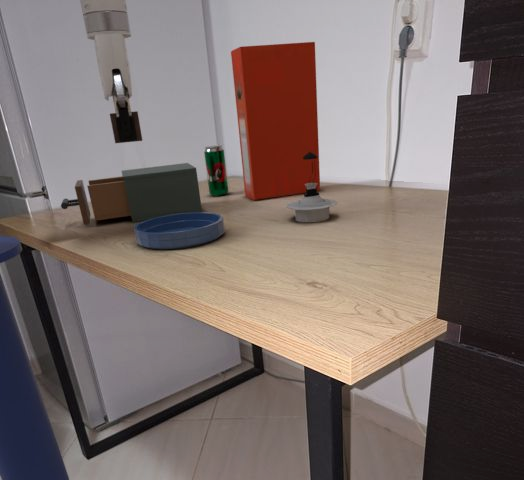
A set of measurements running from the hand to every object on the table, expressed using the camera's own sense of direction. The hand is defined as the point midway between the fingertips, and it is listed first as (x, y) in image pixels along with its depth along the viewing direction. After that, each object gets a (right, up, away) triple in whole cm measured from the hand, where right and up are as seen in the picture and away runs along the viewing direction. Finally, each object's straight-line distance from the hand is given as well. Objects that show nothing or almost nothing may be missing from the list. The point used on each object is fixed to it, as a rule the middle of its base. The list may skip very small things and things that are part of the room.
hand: (127, 139), depth 95 cm
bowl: (+11, -20, -3) cm, 22 cm away
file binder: (+31, -1, +31) cm, 43 cm away
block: (0, 0, 0) cm, 0 cm away
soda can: (+14, +1, +37) cm, 40 cm away
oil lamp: (+36, -15, +3) cm, 39 cm away
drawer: (-9, -10, +18) cm, 23 cm away
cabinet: (+3, -8, +22) cm, 23 cm away
